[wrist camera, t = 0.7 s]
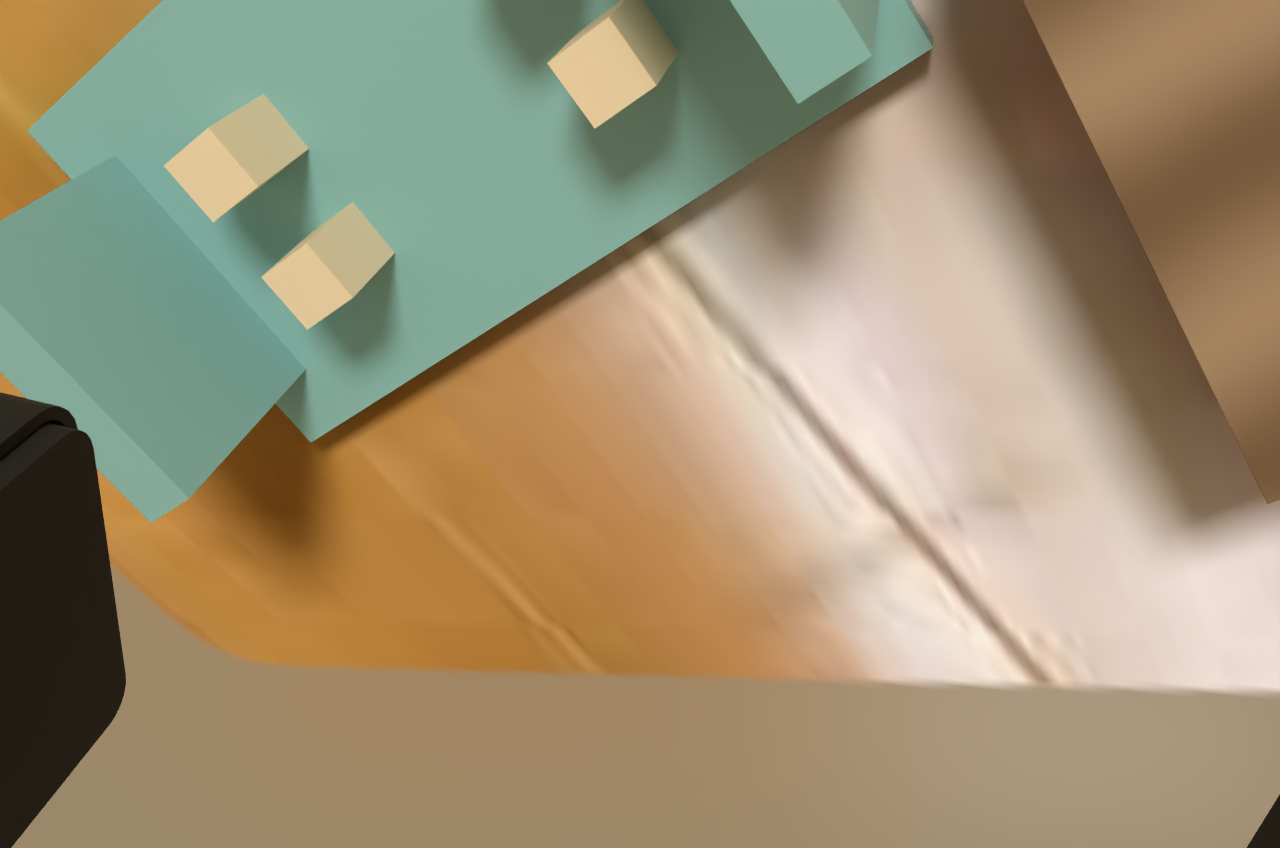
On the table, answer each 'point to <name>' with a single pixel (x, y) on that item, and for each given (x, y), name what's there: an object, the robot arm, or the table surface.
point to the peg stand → (373, 192)
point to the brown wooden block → (1193, 175)
